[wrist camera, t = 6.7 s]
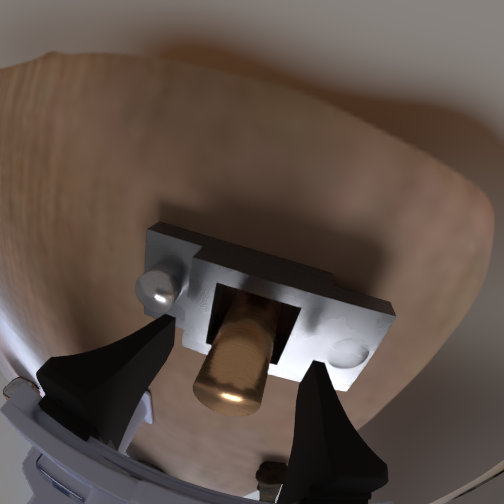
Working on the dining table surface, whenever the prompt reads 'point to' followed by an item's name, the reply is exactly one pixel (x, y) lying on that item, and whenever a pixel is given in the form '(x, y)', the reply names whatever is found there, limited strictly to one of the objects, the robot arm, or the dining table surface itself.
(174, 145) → the dining table surface
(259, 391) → the copper pin
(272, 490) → the hand tool
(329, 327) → the grey plate with knobs
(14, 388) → the tin
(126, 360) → the robot arm
